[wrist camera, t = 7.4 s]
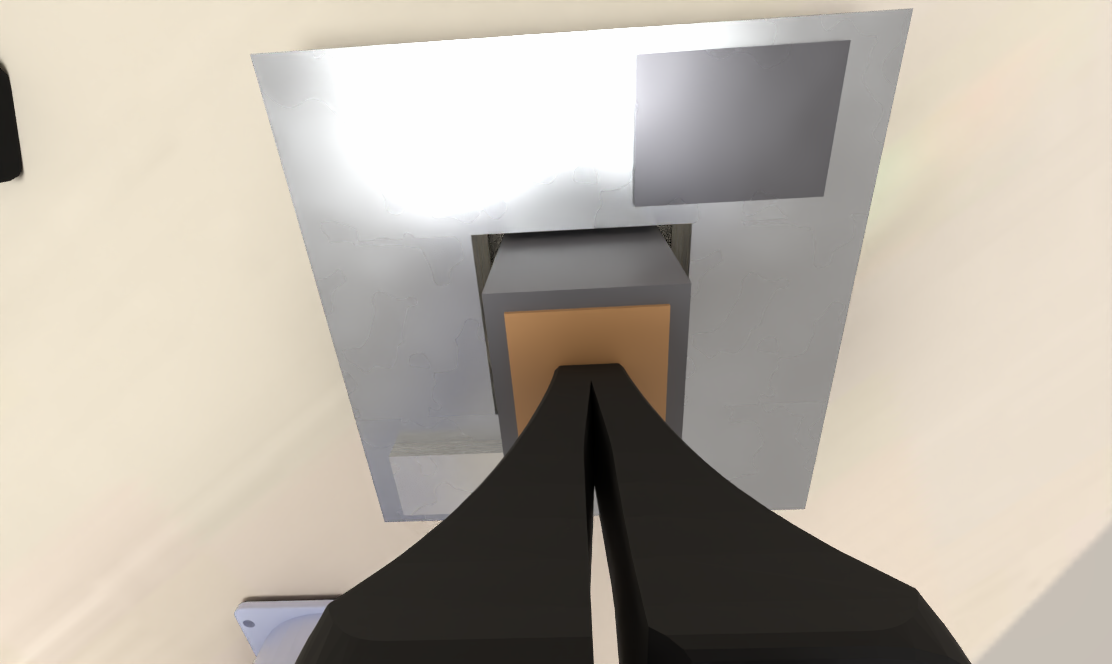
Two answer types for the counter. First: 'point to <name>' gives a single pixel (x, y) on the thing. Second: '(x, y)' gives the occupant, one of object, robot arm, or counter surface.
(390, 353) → the socket plate
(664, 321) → the plug
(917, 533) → the counter surface
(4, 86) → the electric trimmer
